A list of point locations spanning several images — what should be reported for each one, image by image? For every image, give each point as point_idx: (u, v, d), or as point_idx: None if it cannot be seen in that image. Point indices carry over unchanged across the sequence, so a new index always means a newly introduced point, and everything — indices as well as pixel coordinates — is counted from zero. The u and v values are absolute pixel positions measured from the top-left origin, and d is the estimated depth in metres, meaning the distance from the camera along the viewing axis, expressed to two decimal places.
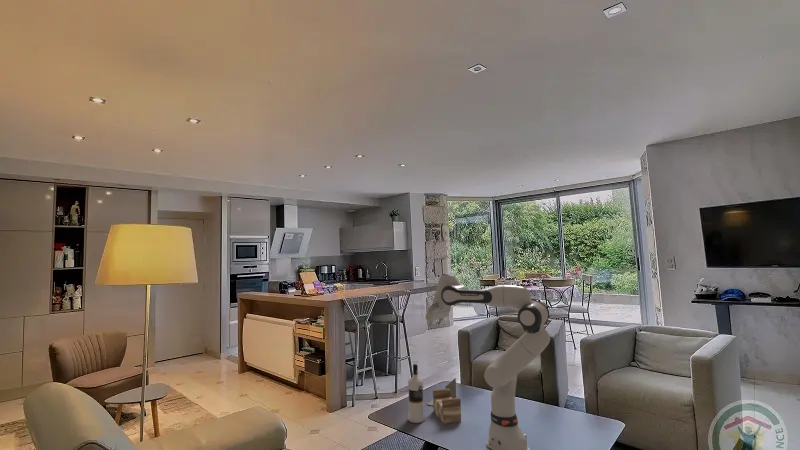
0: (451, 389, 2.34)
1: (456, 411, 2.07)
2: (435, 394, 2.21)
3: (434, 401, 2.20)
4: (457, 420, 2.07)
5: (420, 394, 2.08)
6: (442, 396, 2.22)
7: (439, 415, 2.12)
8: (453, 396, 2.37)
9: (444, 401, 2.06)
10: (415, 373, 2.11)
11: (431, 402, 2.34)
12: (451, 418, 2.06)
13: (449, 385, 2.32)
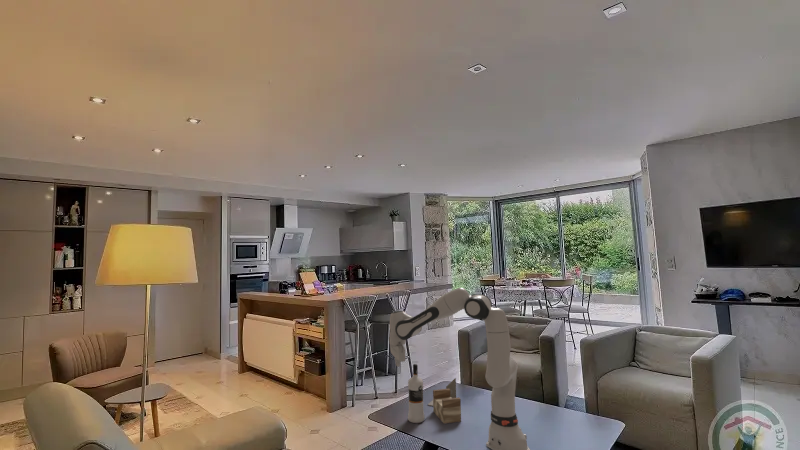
0: (451, 389, 2.34)
1: (456, 411, 2.07)
2: (435, 394, 2.21)
3: (434, 401, 2.20)
4: (457, 420, 2.07)
5: (420, 394, 2.08)
6: (442, 396, 2.22)
7: (439, 415, 2.12)
8: (453, 396, 2.37)
9: (444, 401, 2.06)
10: (415, 373, 2.11)
11: (431, 402, 2.33)
12: (451, 418, 2.06)
13: (450, 385, 2.32)
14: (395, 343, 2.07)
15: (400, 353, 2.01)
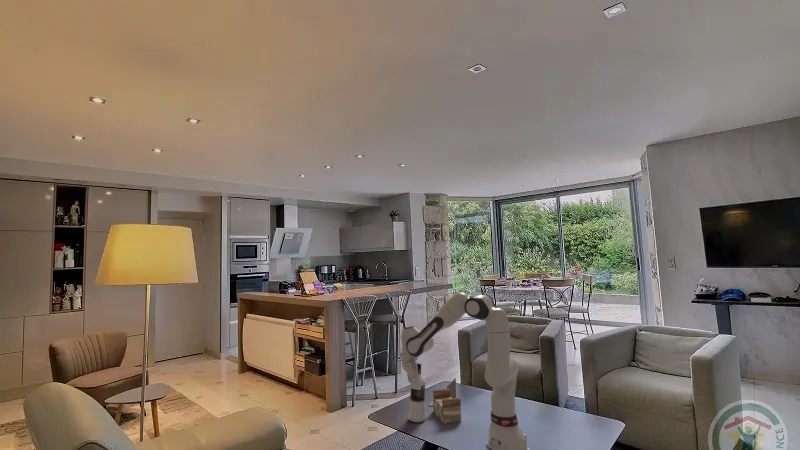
0: (452, 389, 2.34)
1: (456, 411, 2.07)
2: (435, 394, 2.21)
3: (434, 401, 2.20)
4: (457, 420, 2.07)
5: (422, 393, 2.09)
6: (442, 396, 2.22)
7: (439, 415, 2.12)
8: (453, 396, 2.37)
9: (444, 401, 2.06)
10: (418, 372, 2.11)
11: (432, 403, 2.33)
12: (451, 418, 2.06)
13: (450, 385, 2.31)
14: (407, 359, 2.08)
15: (413, 369, 2.02)
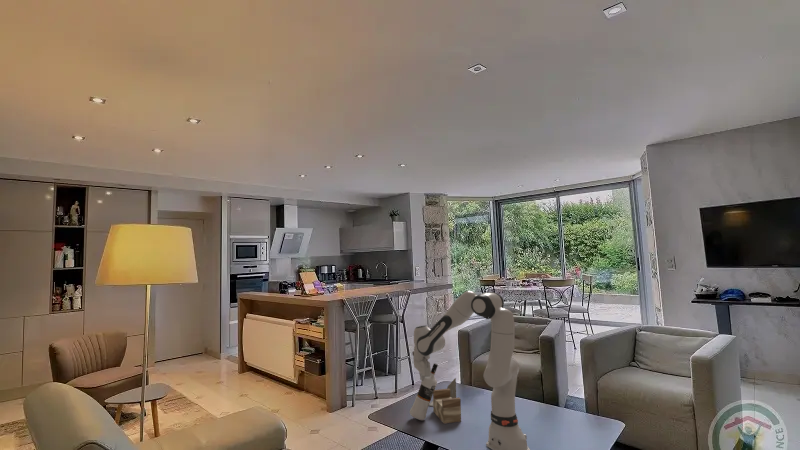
0: (452, 389, 2.34)
1: (456, 411, 2.07)
2: (435, 394, 2.21)
3: (434, 401, 2.20)
4: (457, 420, 2.07)
5: (431, 393, 2.09)
6: (442, 396, 2.22)
7: (439, 415, 2.12)
8: (454, 396, 2.37)
9: (444, 401, 2.06)
10: (433, 372, 2.13)
11: (432, 403, 2.33)
12: (451, 418, 2.06)
13: (450, 385, 2.31)
14: (420, 358, 2.10)
15: (426, 368, 2.04)
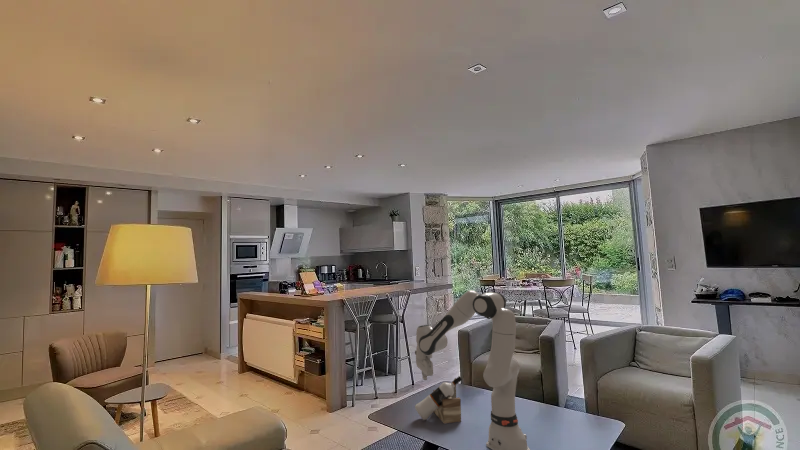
0: None
1: (456, 411, 2.07)
2: None
3: None
4: (457, 420, 2.07)
5: None
6: None
7: (439, 415, 2.12)
8: (454, 396, 2.37)
9: (444, 401, 2.06)
10: (455, 383, 2.12)
11: None
12: (451, 418, 2.06)
13: None
14: (422, 357, 2.10)
15: (428, 367, 2.04)
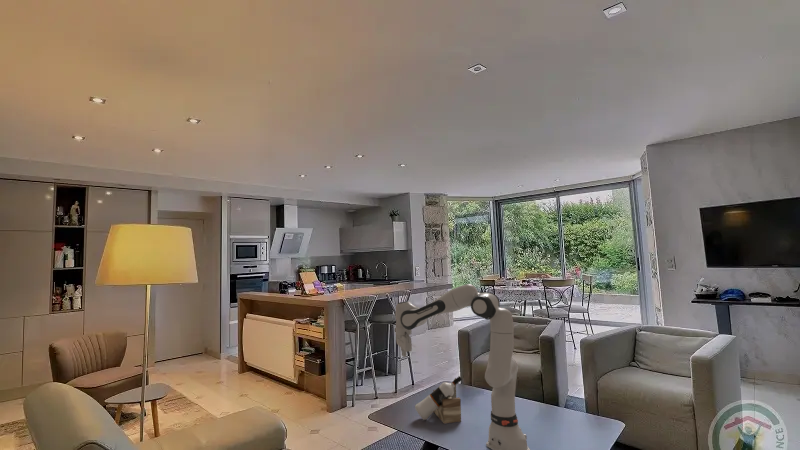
0: None
1: (456, 411, 2.07)
2: None
3: None
4: (457, 420, 2.07)
5: None
6: None
7: (439, 415, 2.12)
8: (454, 396, 2.37)
9: (444, 401, 2.06)
10: (455, 383, 2.12)
11: None
12: (451, 418, 2.06)
13: None
14: (401, 333, 2.08)
15: (406, 343, 2.02)
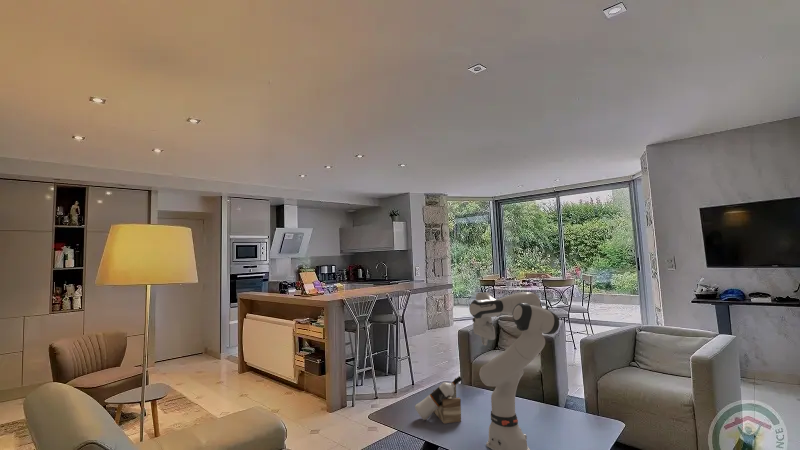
0: None
1: (456, 411, 2.07)
2: None
3: None
4: (457, 420, 2.07)
5: None
6: None
7: (439, 415, 2.12)
8: (454, 396, 2.37)
9: (444, 401, 2.06)
10: (455, 383, 2.12)
11: None
12: (451, 418, 2.06)
13: None
14: (483, 323, 2.16)
15: (490, 331, 2.10)
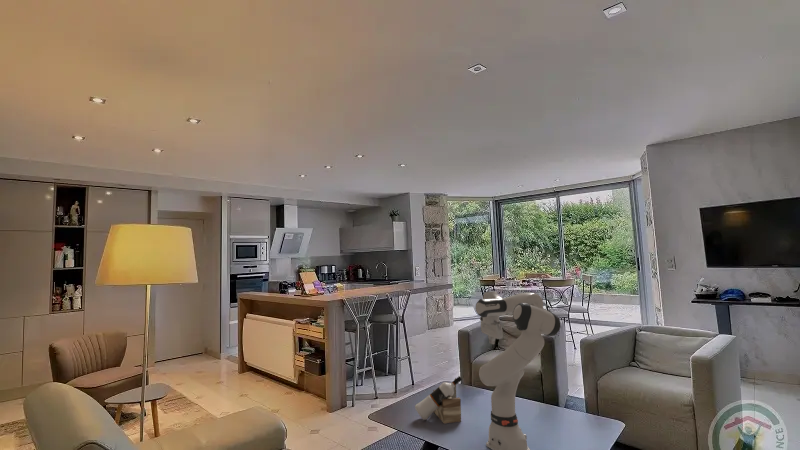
0: None
1: (456, 411, 2.07)
2: None
3: None
4: (457, 420, 2.07)
5: None
6: None
7: (439, 415, 2.12)
8: (454, 396, 2.37)
9: (444, 401, 2.06)
10: (455, 383, 2.12)
11: None
12: (451, 418, 2.06)
13: None
14: (491, 322, 2.17)
15: (498, 330, 2.11)
